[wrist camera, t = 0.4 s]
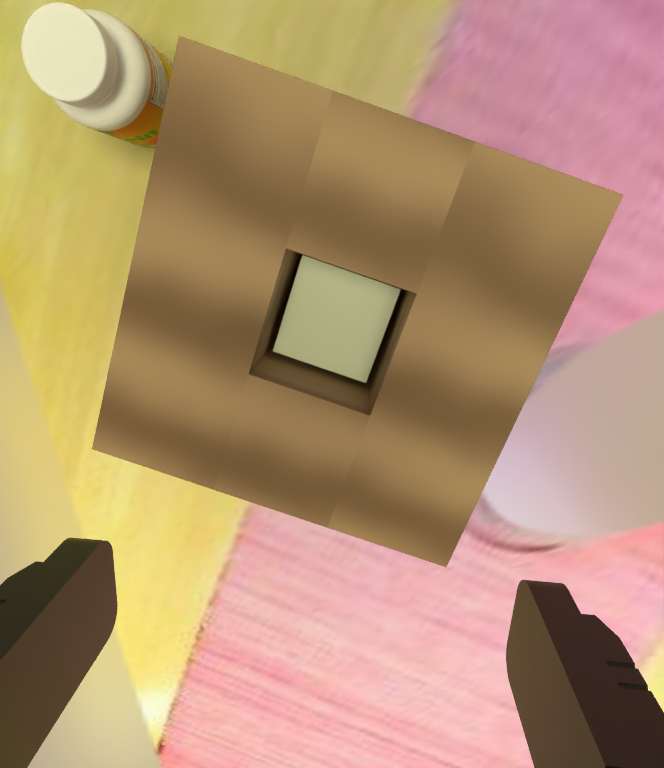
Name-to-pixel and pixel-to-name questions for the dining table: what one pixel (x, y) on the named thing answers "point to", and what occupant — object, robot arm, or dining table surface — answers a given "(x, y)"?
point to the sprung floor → (335, 318)
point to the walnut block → (352, 252)
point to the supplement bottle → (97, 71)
